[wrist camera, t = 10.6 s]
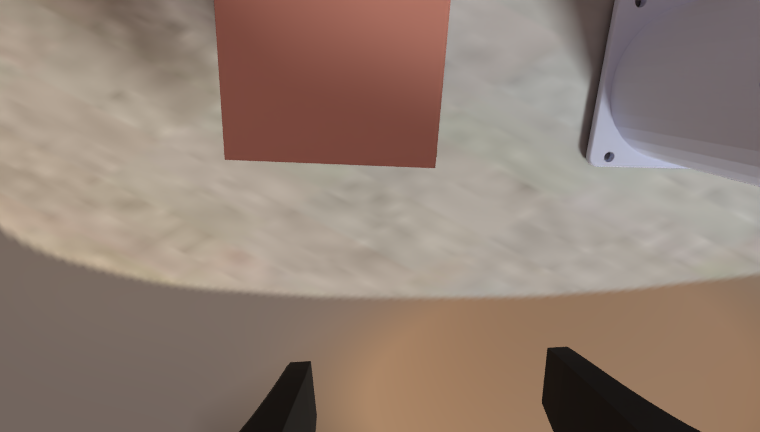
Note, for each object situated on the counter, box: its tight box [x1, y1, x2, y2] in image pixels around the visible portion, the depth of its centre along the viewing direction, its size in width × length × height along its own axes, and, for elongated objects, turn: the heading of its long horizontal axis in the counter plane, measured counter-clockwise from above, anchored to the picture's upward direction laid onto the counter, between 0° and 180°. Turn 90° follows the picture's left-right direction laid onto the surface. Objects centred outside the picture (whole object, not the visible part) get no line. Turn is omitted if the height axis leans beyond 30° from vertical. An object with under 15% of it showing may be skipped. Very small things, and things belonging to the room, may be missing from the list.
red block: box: [214, 0, 450, 168], centre depth 11 cm, size 4×4×5 cm
